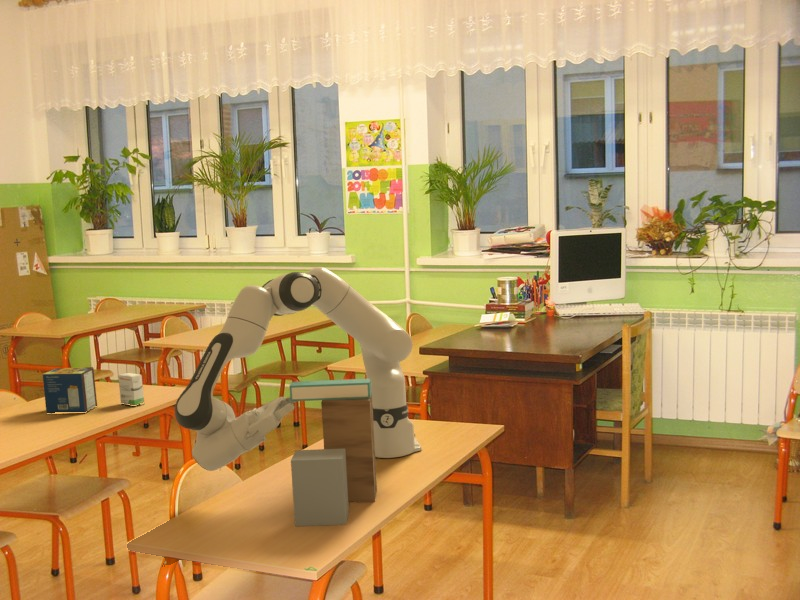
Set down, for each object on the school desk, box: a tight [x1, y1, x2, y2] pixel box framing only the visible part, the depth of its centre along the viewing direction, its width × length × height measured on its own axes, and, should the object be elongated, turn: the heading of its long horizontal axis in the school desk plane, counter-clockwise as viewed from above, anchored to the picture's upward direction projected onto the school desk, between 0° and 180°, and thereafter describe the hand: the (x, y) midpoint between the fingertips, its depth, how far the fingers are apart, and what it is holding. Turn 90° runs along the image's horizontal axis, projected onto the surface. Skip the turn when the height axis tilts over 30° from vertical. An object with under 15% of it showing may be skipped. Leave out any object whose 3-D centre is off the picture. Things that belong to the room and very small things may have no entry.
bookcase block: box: [320, 392, 378, 504], centre depth 225 cm, size 9×12×26 cm
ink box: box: [117, 372, 145, 405], centre depth 337 cm, size 9×5×12 cm, turn 54°
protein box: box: [42, 366, 98, 413], centre depth 331 cm, size 10×15×16 cm
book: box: [289, 378, 371, 402], centre depth 224 cm, size 5×20×4 cm, turn 88°
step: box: [290, 448, 350, 527], centre depth 211 cm, size 8×12×16 cm, turn 88°
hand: (295, 400), depth 224 cm, fingers open, 8 cm apart
